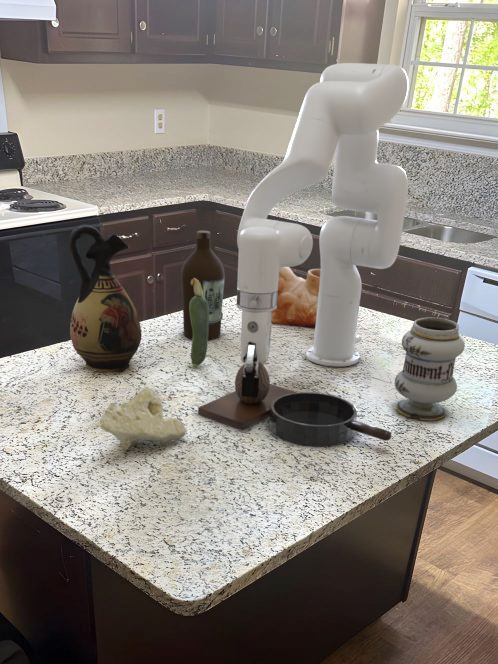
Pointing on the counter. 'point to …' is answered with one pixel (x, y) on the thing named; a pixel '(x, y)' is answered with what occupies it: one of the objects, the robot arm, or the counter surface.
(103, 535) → the counter surface
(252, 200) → the robot arm
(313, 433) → the pan
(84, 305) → the ceramic jug
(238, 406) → the board
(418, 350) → the apothecary jar
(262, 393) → the vase
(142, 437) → the cream coral rock
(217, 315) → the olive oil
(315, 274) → the ceramic vessel
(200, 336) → the vegetable
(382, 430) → the pan handle
